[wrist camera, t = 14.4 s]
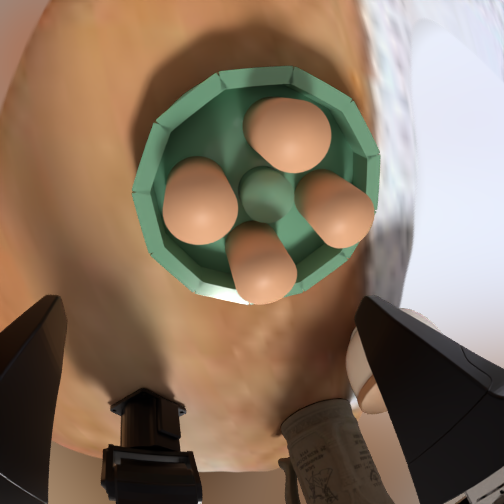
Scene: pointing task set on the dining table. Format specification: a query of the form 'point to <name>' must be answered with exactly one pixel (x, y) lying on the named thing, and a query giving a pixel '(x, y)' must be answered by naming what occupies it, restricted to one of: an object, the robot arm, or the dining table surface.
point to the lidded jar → (369, 371)
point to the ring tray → (249, 174)
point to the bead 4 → (334, 208)
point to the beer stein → (329, 458)
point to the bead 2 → (287, 133)
